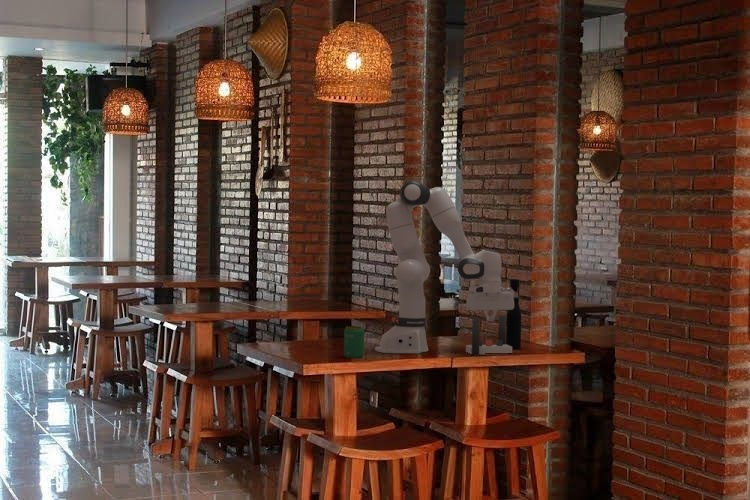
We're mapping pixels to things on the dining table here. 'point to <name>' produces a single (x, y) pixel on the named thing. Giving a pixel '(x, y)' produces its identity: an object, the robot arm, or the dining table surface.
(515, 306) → the wine bottle
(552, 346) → the dining table surface
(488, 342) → the breaker paddles
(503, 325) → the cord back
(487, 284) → the robot arm
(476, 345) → the dark grey tall bar
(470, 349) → the breaker box
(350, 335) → the beverage can
